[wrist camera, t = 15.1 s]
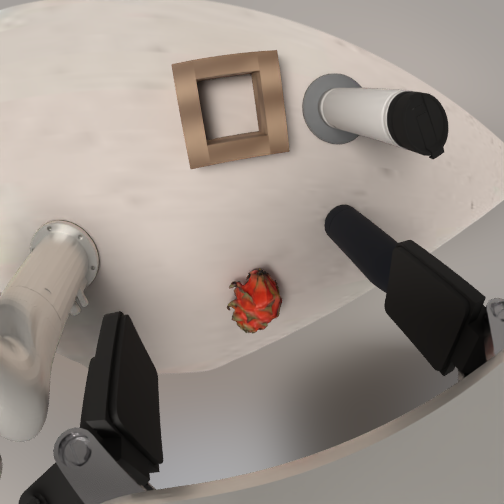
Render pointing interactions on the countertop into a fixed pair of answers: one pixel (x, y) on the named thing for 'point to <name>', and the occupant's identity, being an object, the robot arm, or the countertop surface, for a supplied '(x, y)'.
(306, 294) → the countertop surface
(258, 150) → the mug holder
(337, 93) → the travel mug
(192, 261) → the countertop surface
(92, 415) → the robot arm
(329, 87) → the coaster
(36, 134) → the countertop surface
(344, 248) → the black water bottle
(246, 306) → the dragon fruit
